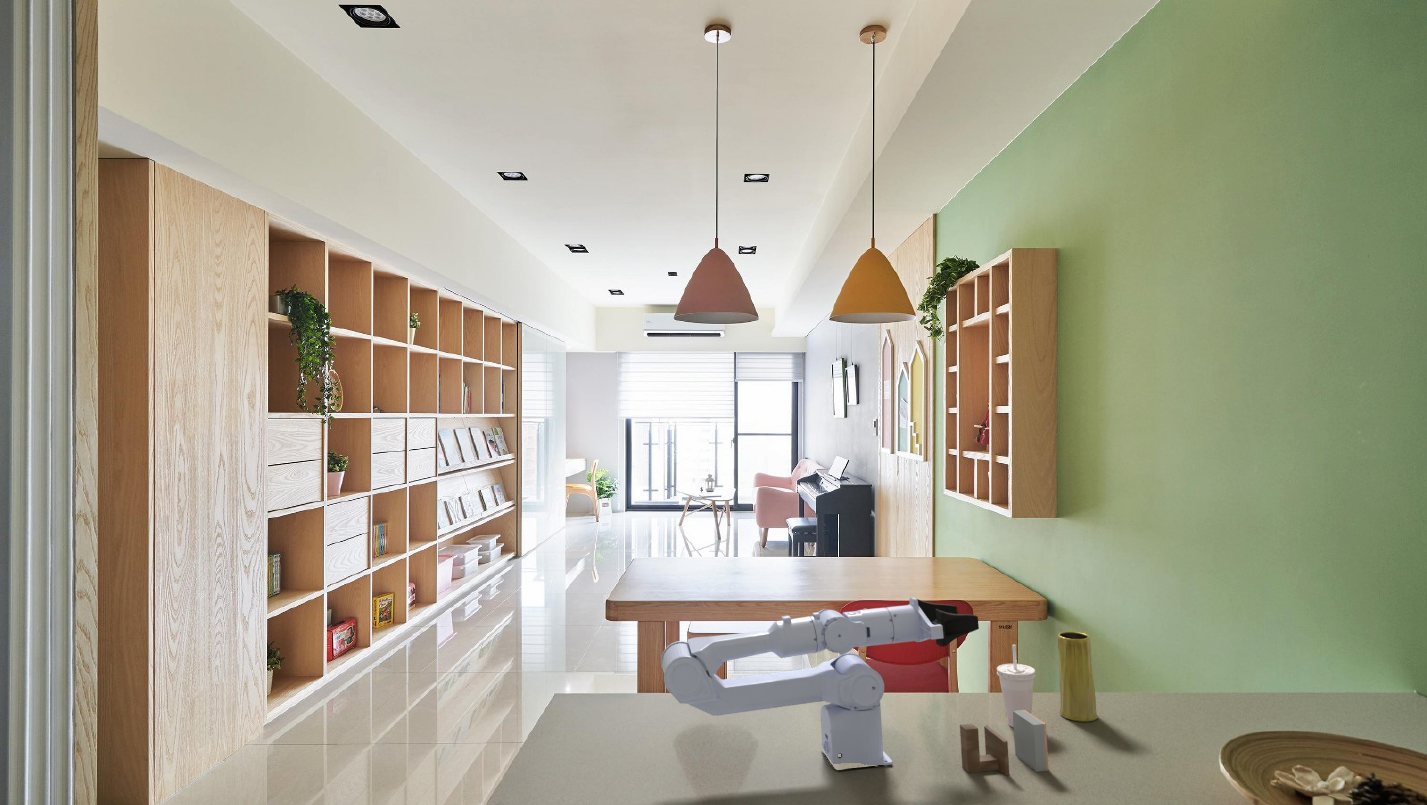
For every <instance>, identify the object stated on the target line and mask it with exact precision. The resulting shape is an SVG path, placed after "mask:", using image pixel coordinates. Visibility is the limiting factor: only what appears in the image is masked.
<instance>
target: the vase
mask: <svg viewBox="0 0 1427 805" xmlns="http://www.w3.org/2000/svg"><path fill="white" fill-rule="evenodd" d="M1057 644H1058V645H1057V648H1058V649H1057V650H1058V661H1059V662H1058V664H1059V671H1058V672H1059V691H1060V692H1059V693H1060V709H1059V713H1060V716H1062V717H1063V718H1065V719H1067V720H1068V721H1069V720H1070V721H1073V722H1080V723H1088V722H1094V721H1095V720H1097V719H1098V717H1099V715H1098V713H1097V700H1096V699H1097V698H1096V690H1095V683H1094V682H1095V680H1094V679H1095V678H1094V671H1093V661H1092V647H1091V646H1092V645H1091V638H1090V635H1089V634H1087V633H1084V632H1079V631H1061V632H1059V633H1058V634H1057Z"/></svg>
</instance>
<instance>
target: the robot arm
mask: <svg viewBox="0 0 1427 805" xmlns="http://www.w3.org/2000/svg"><path fill="white" fill-rule="evenodd" d="M979 626H980V625H979V617H978V616H977V615H975V614H969V613H958V606H956V605H953V604H943V603H933V602H928V601H925V600H921V599H918V598H916V597H913V596H912V597H909V604H907V605H906V604H905V605H897V606H887V607H885V606H884V607H875V608H867V609H866V608H865V609H858V610H855V611H854V610H852V611H845V612H844V611H843V612H842V613H841V612H839V611H837V610H835V609H825V608H823V609H821V610H819V611H817V612H812V615H809V616H803V617H795V618H792V617H791V616H790V615H784V616H783V615H782V616H781V620H776V621H774V622H773V624H772V625H770V627H769V628H768V629H767V630H760V631H749V632H740V633H739V632H738V633H732V634H721V635H713V636H712V635H711V636H698V637H691V638H688V639H687V641H683V640H677V641H674V642H672V643H670V644H669V645H667V647H665V649H664V650H663V651H662V654H661V657H660V665H661V666H660V667H661V669H662V671H663V681H664V685H665V688H666V690H667V691H668V692H669V693H670V694H671V695H672V697H674V698H675V700H676V701H677V702H678V703H679V704H681V705H689V706H691V707H694V708H695V709H698V710H700V711H702V712H704V713H707V714H709V715H711V716H718V717H719V716H723V715H725V716H726V715H733V714H739V713H748V712H754V711H762V710H767V709H775V708H776V709H777V708H783V707H791V706H798V705H805V704H813V703H819V702H825V703H827V704H825V705H824V704H823V705H822V706H821V709H820V722H821V723H820V725H821V726H820V727H821V748H823V749H824V751H825V753H826V754H827V756H828V757H829V759H830V760H831V762H832V763H833V764H841V763H861V764H864V765H866V764H867V765H884V766H891V765H893V760H892V759H891V758H890V756H889V755H887V753H886V752H885V751H884V749H883V748H884V747H883V746H884V745H883V727H882V708H881V706H882V705H881V700H882V699H883V696H884V693H885V683H884V680H883V678H882V675H881V674H880V673H879V672H878V671H876V670H875V669H873V668H872V667H871V666H869V664H868V663H866V661H865V660H864V658H862V657H861V656H860V655H859V654H857V653H854V652H850V651H852V650H853V649H854V648H857V647H858V648H859V647H870V646H871V647H872V646H881V645H891V644H892V645H893V644H899V643H900V644H901V643H907V642H908V643H910V642H916V643H919V642H920V643H921V642H924V641H928V640H935V642H936V643H935V644H936V645H937V646H939V647H941V648H943V647H944V648H945V647H946V646H949V644H951V643H952V642H953V641H954V640H956V639H958V638H960V637H962V636H964V635H967V634H969V633H972V632H976V631H977V630H980V627H979ZM825 650H828V651H829V652H832V653H834V654H835V653H836V654H839V655H838V656H836V657H835V658H833V659H831V660H825V661H822V662H821V663H819V664H818V665H817V666H815V667H809V668H802V669H795V670H786V671H785V670H784V671H779V672H771V673H763V674H755V675H754V674H753V675H747V676H741V677H732V678H725V679H722V678H720V677H719V676H718V675H717V674H716V673H717V672H718V670H719V669H720V667H721V666H723V664H724V663H725V662H729V661H734V660H738V659H742V658H747V657H752V656H757V655H763V654H767V653H774V654H775V655H776V656H777V657H779V658H781V659H786V658H793V657H798V656H804V655H810V654H811V655H812V654H817V653H821V652H822V651H825ZM838 754H841V757H838Z"/></svg>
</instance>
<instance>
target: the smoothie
mask: <svg viewBox="0 0 1427 805" xmlns="http://www.w3.org/2000/svg"><path fill="white" fill-rule="evenodd" d="M1011 646H1012V663H1003V664H1000V665H998V666H996V675H997V676H999V677H998V678H999V682H1000V684H999V685H1000V688H1001V694H1002V700H1003V704H1004V709H1005V715H1006V719H1007V720H1006V721H1007V725H1008V726H1009V727H1011V728H1013V729H1014V723H1013V711H1017V710H1026V711H1027V712H1029V713H1030V714H1032V709H1033V696H1034V684H1035V682H1034V679H1035V678H1036V676H1037V675H1036V669H1035V668H1033V667H1032V666H1030V665H1026V664H1020V663H1018V662H1017V645H1016V644H1012V645H1011Z"/></svg>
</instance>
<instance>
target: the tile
mask: <svg viewBox="0 0 1427 805" xmlns="http://www.w3.org/2000/svg"><path fill="white" fill-rule="evenodd" d="M1013 723H1014V728H1013V736H1014V738H1013V739H1014V753H1015V756H1016V757H1017V758H1018V759H1020V760H1021V761H1022V762H1024V764H1026V765H1027V766H1028V767H1029V768H1031V769H1032V770H1034V772H1037V773H1039V772H1045V771H1049V754H1048V751H1049V750H1048V740H1047V736H1048V735H1047V724H1046V723H1045V722H1044V721H1042V720H1041V719H1040V718H1037V717H1036V716H1035V715H1033V714H1032V713H1031V714H1030V713H1029V712H1027V711H1026V710H1017V711H1013Z"/></svg>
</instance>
